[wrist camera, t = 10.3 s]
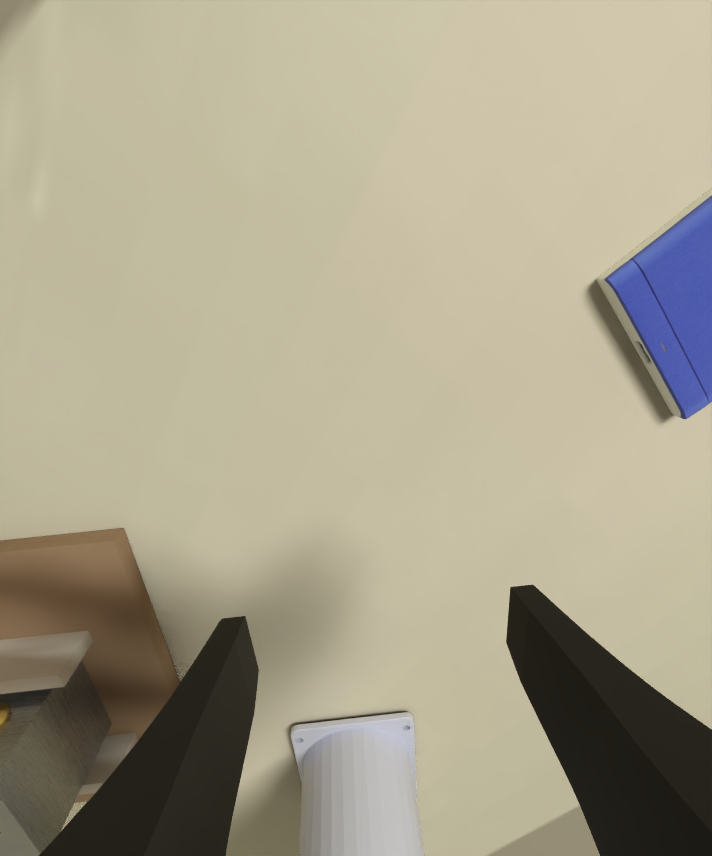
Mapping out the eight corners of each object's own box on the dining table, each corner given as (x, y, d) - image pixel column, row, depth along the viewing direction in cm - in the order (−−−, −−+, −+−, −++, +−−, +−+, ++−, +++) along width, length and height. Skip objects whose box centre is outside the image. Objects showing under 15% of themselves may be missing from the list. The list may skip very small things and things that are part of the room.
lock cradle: (211, 769, 28) (195, 836, 24) (34, 790, 27) (-5, 860, 24) (123, 528, 20) (83, 578, 17) (-121, 553, 20) (-209, 609, 17)
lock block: (112, 723, 24) (46, 861, 18) (44, 731, 24) (-43, 872, 18) (76, 647, 22) (-13, 780, 16) (0, 656, 22) (-116, 792, 16)
